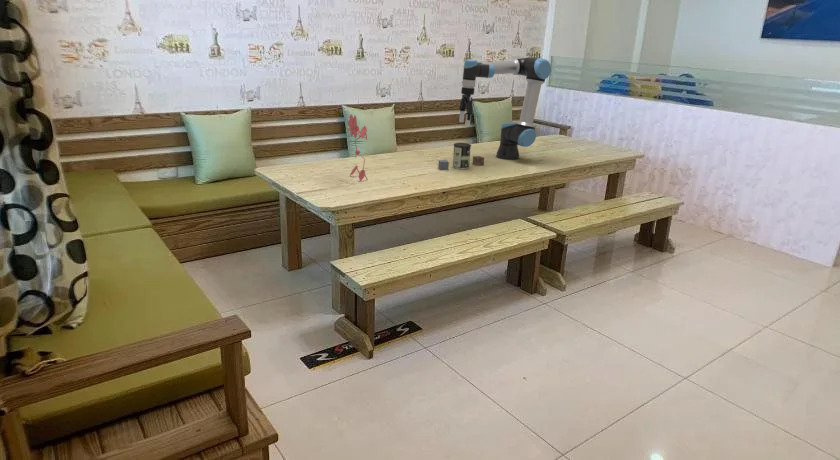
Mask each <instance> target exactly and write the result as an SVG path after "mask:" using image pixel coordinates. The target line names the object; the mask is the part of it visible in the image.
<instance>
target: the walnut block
mask: <svg viewBox="0 0 840 460" xmlns="http://www.w3.org/2000/svg"><path fill="white" fill-rule="evenodd" d="M472 165H474V166H475V167H476V166H477V167H480V166H484V165H485V157H484V156H481V155H477V156H476V155H475V156H472Z"/></svg>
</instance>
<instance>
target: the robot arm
mask: <svg viewBox="0 0 840 460" xmlns="http://www.w3.org/2000/svg"><path fill="white" fill-rule="evenodd" d="M551 73H552V65H551V63H550V62H549V60H548V59H545V58H541V57H532V56H531V57H530V56H529V57H522V58H514V59H512V60H499V61H482V62H481V61H480V62H479V61H478V60H477V59H465V61H464V63H463V73H462V80H461V86H462V87H461V92H460V93H461V94H462V95H461V100H460V105H459V108H458V109H459V118H458V119H459V120H458V121H459V123H464V122H465V124H464V126H465V127H470V126H471V119H472V115H473V113H474V112H473V96H474V95H475V87H476V80H477V78H484V79H492V78H493V77H494V76H495V75H505V74H506V75H507V74H512V75H514V76H515V75H516V76H517V75H518V76H523V77H524V76H525V80H526V82H527V84H526V90H525V94H524V98H523V102H522V107H521V111H520V115H519V116H520V117H519V121H517V122H503V123H502V124H501V128H500V140H499V146H498V149H497V151H496V155H495V157H497V158H498V159H502V160H518V159H519V158H520V152H519V147H518V146H520V147H525V148H527V147H530V146H532V145H533V144H534V143H535V140H536V139H537V132H536V131H535V130H534V129H535V125H534V120H535V114H536V111H537V106H538V102H539V98H540V93H541V88H542V85H543V84H545V81H546V80H547V79H548V78H549V77H550V75H551Z"/></svg>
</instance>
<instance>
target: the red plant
mask: <svg viewBox="0 0 840 460" xmlns="http://www.w3.org/2000/svg"><path fill="white" fill-rule="evenodd" d="M347 125H348V127H349V130H347V131H346V134H347V133H350V137H354V144H355V145H354V146H355V149H356V150H355V151H354V153H355V156H354V157H357V156H360V157H361V158H362V159H363V166H362V169H361V170H360V171H359V169H358V167H359V166H358V165H355V166H354V168H352V170H351V172H350V174H349V176H350V177H351V176H352V175H353V174H354V173H356V171H357V173H358V181H359V182H361V181H363V179H364V178H365V179H366V181H368V180H369V179H368V177H367V175H366V170H365V169H364V167H365V164H366V163H365V161H366V158H365V157H364V156H362V155H361V151H360V150H359V149H358V147H357V140H358V139H360V138H361V139H365V140H368V135H367V132H368V128H367V126H366V125H364V126H363V127H362V128H361V129H360V127H359V125H358V120H357V115H356V114H354V115H352V113H350V115H349V120H348V121H347ZM357 136H358V137H357ZM341 182H343V183H345V184H347V182H346V181H342V180H341ZM350 184H353V185H354V183H352V182H351V183H350Z"/></svg>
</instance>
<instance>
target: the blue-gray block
mask: <svg viewBox="0 0 840 460" xmlns="http://www.w3.org/2000/svg"><path fill="white" fill-rule="evenodd" d="M437 164H438V166H437V167H438V170H440V171H449V166H450V162H449V161H448V159H438V163H437Z"/></svg>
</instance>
